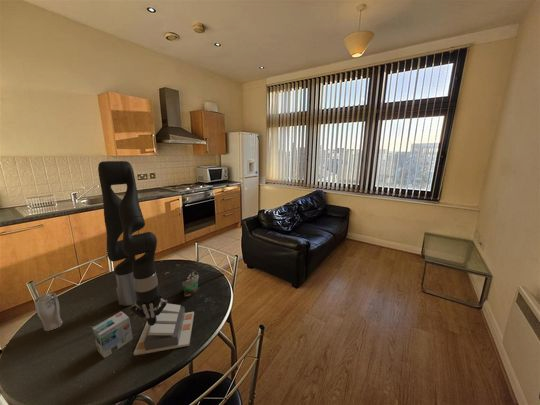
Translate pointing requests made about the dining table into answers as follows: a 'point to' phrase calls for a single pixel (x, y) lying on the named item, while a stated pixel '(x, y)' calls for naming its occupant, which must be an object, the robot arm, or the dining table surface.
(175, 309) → the rocker back
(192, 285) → the food container
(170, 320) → the rocker middle
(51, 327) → the beer glass
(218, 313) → the dining table surface
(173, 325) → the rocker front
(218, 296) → the dining table surface
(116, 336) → the light bulb box
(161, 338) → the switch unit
